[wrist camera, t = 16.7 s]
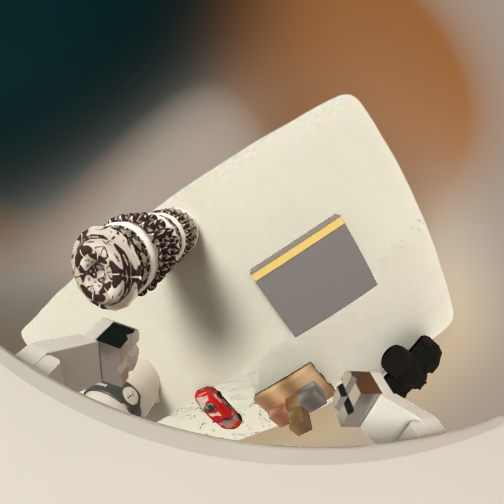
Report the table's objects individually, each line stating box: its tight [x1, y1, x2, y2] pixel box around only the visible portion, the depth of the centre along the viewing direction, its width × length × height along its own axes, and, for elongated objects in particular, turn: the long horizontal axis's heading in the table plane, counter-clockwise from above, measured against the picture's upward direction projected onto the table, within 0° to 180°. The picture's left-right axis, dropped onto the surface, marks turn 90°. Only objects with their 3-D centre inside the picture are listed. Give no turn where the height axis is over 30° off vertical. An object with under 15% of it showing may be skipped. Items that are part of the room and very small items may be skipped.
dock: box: [250, 214, 377, 337], centre depth 45 cm, size 17×14×3 cm
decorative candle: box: [71, 208, 198, 311], centre depth 33 cm, size 9×9×25 cm
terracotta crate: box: [269, 397, 289, 427], centre depth 48 cm, size 4×4×4 cm
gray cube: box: [297, 380, 327, 413], centre depth 47 cm, size 4×4×4 cm
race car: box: [195, 386, 242, 429], centre depth 51 cm, size 13×5×4 cm, turn 30°
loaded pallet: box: [254, 362, 335, 436], centre depth 46 cm, size 14×10×12 cm
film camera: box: [381, 335, 442, 398], centre depth 46 cm, size 15×10×9 cm, turn 143°
